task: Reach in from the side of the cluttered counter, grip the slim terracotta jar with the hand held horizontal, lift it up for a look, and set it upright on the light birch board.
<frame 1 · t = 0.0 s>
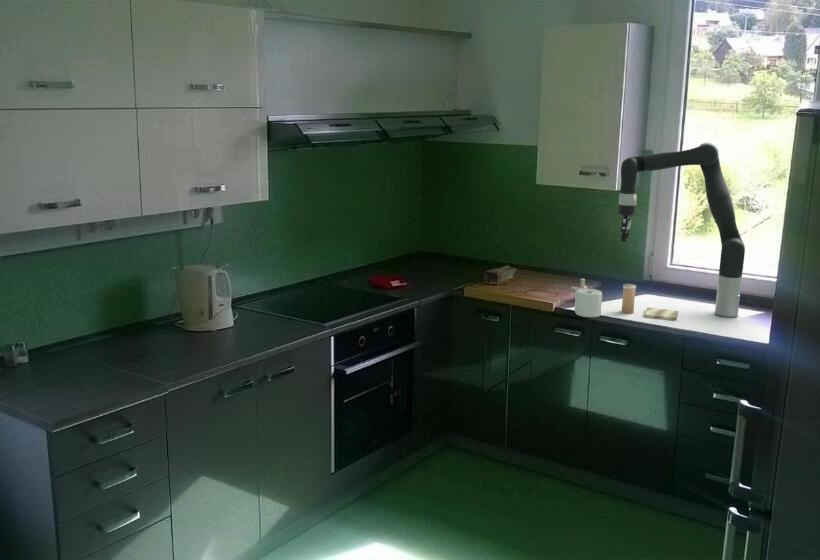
hand: (624, 239, 361), 29 cm above the worktop, tool pointing down, fingers open, 8 cm apart
toilet tissue: (586, 314, 350), on the worktop
beverage carton: (500, 282, 407), on the worktop
birch board: (661, 315, 349), on the worktop
pipe connector: (581, 300, 372), on the worktop
terracotta jar: (627, 312, 353), on the worktop
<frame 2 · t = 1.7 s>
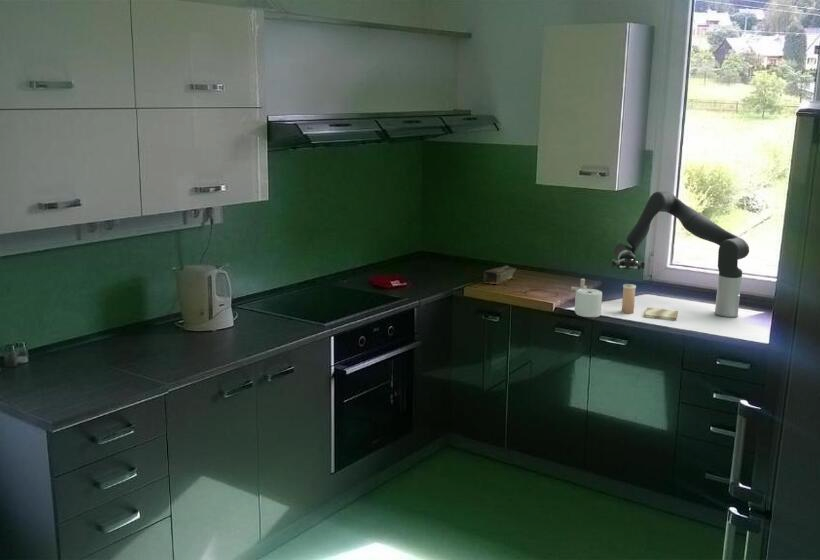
hand: (628, 267, 360), 18 cm above the worktop, tool horizontal, fingers open, 8 cm apart
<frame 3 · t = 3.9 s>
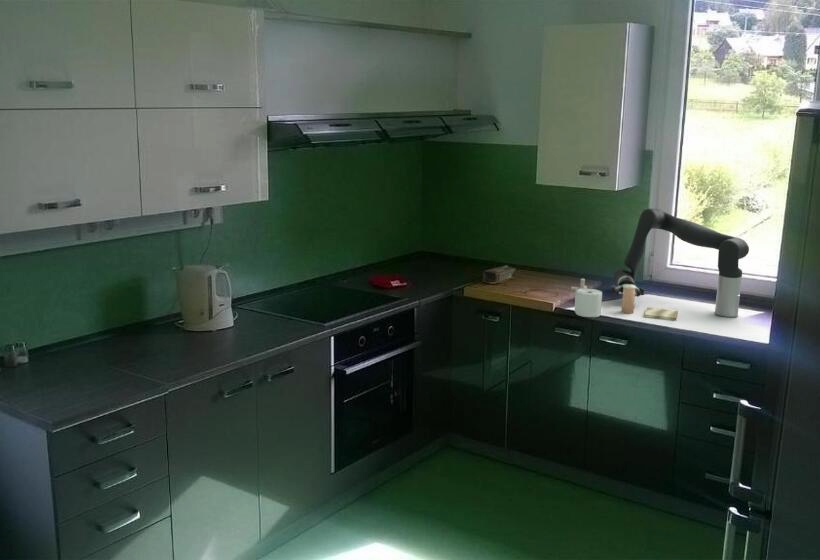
hand: (628, 293, 357), 7 cm above the worktop, tool horizontal, fingers open, 8 cm apart
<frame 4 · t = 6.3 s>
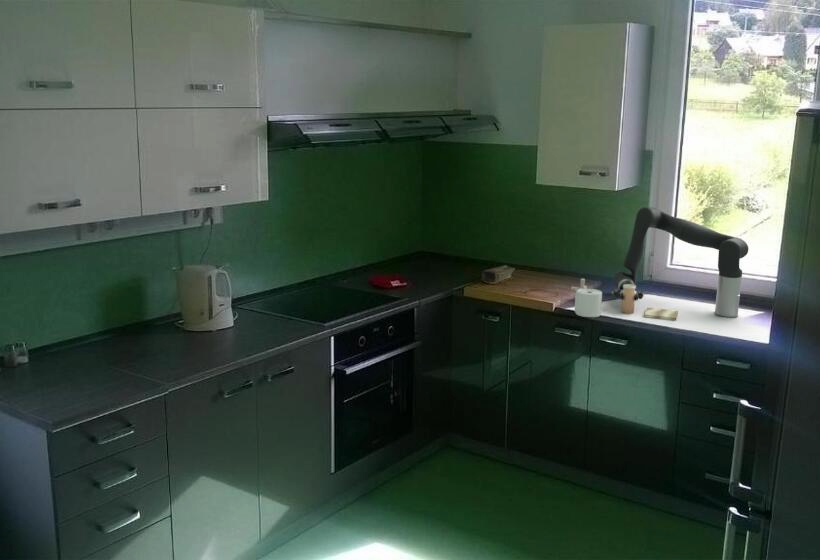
hand: (629, 298, 349), 7 cm above the worktop, tool horizontal, fingers closed on terracotta jar, 5 cm apart
terracotta jar: (627, 312, 353), on the worktop, touching gripper
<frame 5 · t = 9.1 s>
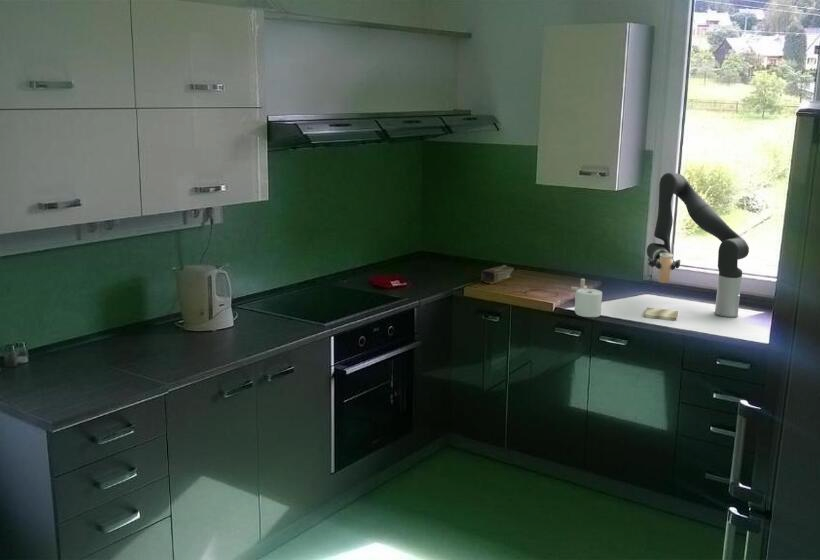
hand: (666, 267, 342), 22 cm above the worktop, tool horizontal, fingers closed on terracotta jar, 5 cm apart
terracotta jar: (664, 281, 346), point 15 cm above the worktop, touching gripper
when the fingers open (10 cm above the worktop, at t = 12.3 s): terracotta jar drops 1 cm, resting on birch board.
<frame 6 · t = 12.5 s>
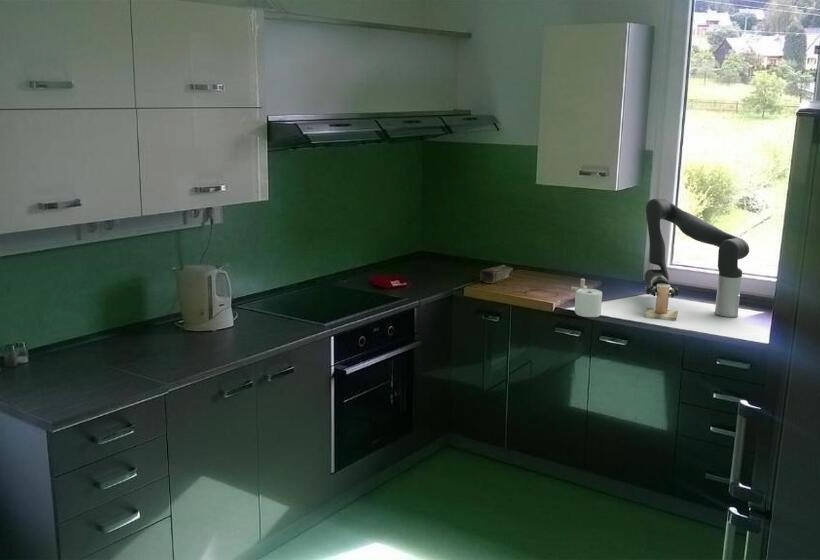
hand: (663, 294, 345), 10 cm above the worktop, tool horizontal, fingers open, 6 cm apart
terracotta jar: (661, 312, 349), point 1 cm above the worktop, touching birch board
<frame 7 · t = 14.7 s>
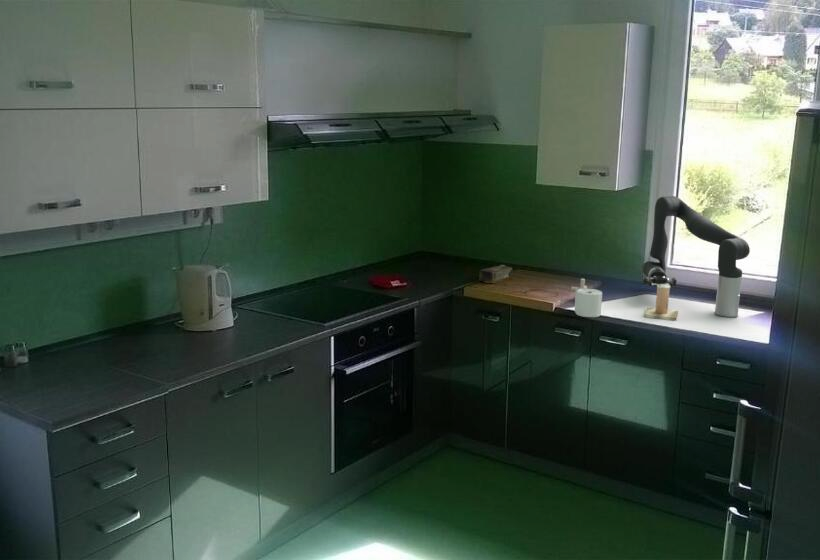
hand: (660, 284, 357), 11 cm above the worktop, tool horizontal, fingers open, 8 cm apart
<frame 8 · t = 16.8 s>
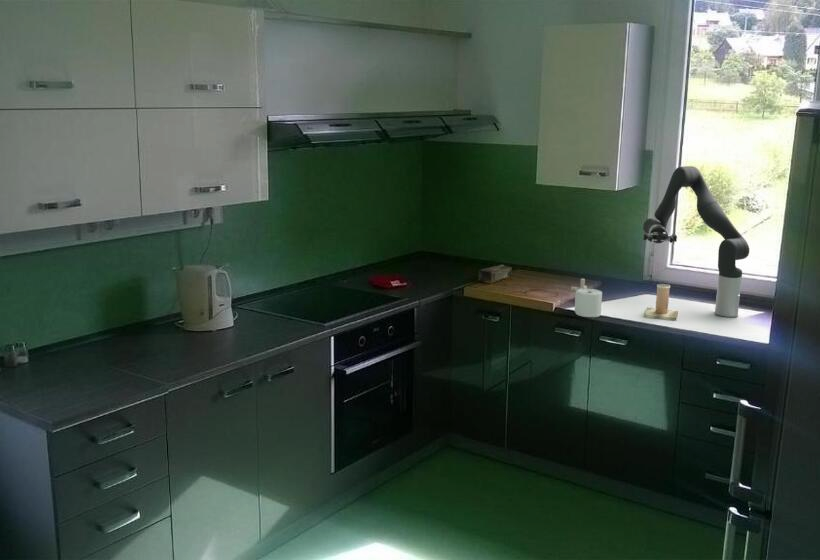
hand: (661, 240, 357), 30 cm above the worktop, tool horizontal, fingers open, 8 cm apart
at the end: terracotta jar inside the target area on the birch board (0.1 cm from its centre), point 1.2 cm above the birch board's base; terracotta jar tilted 0°; the gripper is holding nothing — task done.
